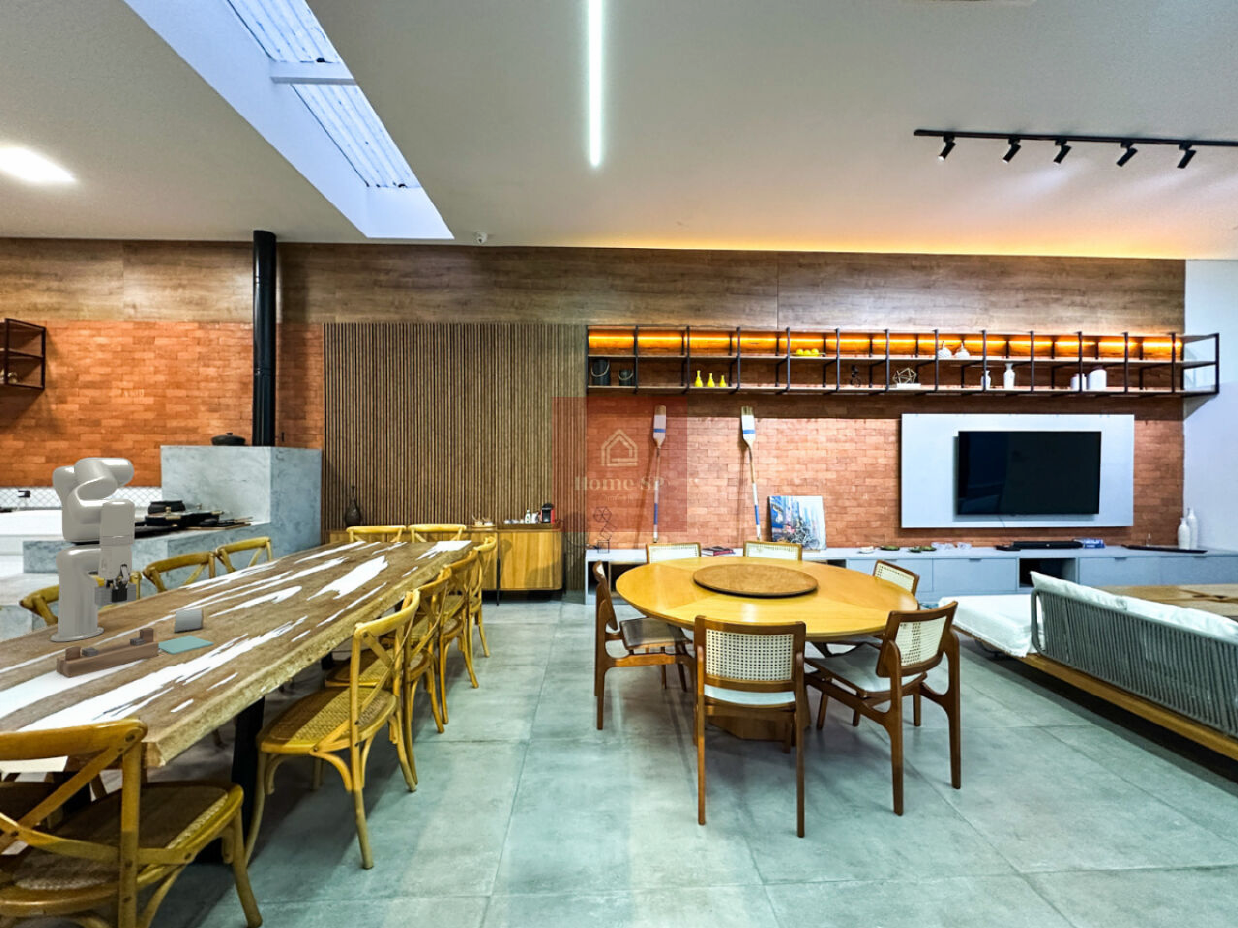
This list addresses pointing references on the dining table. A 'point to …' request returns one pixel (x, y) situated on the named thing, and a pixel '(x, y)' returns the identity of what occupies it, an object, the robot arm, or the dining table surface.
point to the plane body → (107, 655)
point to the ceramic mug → (189, 619)
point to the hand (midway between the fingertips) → (115, 599)
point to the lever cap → (105, 594)
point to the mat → (183, 644)
